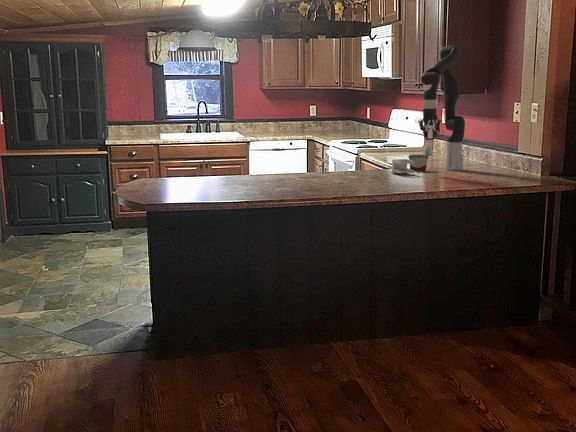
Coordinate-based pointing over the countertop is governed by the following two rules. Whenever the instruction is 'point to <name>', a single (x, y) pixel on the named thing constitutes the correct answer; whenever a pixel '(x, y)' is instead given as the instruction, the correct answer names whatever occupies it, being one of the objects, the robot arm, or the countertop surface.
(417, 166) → the food container
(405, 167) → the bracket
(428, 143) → the tube
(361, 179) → the countertop surface
